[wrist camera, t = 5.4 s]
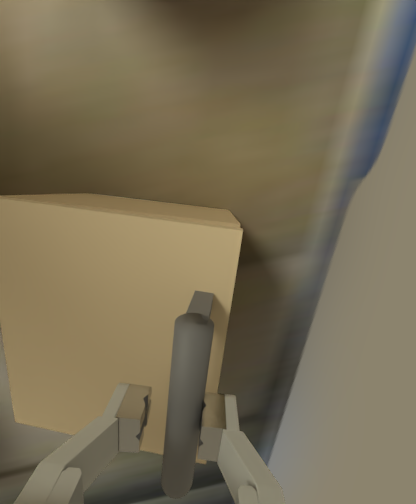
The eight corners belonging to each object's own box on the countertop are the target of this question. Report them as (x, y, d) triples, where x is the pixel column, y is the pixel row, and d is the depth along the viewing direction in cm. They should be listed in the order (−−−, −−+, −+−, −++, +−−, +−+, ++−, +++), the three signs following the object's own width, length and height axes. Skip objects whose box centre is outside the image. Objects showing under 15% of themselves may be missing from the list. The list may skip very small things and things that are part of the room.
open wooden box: (89, 193, 23) (-2, 195, 13) (228, 209, 23) (240, 224, 13) (93, 331, 27) (26, 410, 17) (209, 344, 27) (208, 430, 17)
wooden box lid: (-4, 195, 13) (-130, 197, 8) (242, 228, 12) (246, 250, 7) (24, 411, 17) (-49, 488, 13) (207, 451, 16) (196, 550, 12)
